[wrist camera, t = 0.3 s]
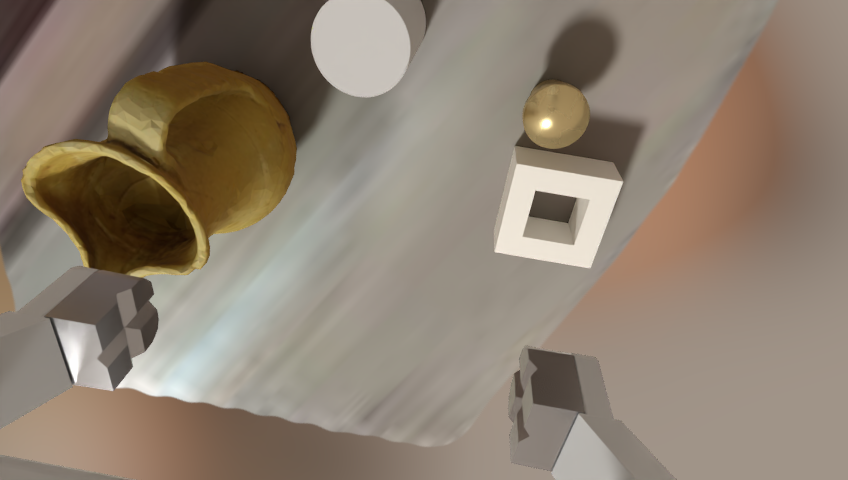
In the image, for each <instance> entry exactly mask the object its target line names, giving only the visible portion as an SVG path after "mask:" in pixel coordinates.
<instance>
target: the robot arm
mask: <svg viewBox="0 0 848 480" xmlns="http://www.w3.org/2000/svg"><path fill="white" fill-rule="evenodd" d="M153 295H154V291H153V287H152V283H151V281H149V280H147V279H145V278H140V277H135V276H130V275H125V274H120V273H115V272H110V271H105V270H98V269H93V268H88V267H83V266H77V267H73V268H70V269H69V270H68V271H67V272H66V273H64V274H63V275H62V276H61V277H59V278H58V279H57V280H56V281H55V282H53V283H52V284H51V285H50V286H48V287H47V288H46V289H45V290H43V291H42V292H41V293H40V294H39V295H37V296H36V297H35V298H34V299H32V300H31V301H30V302H29V303H28V304H26V305H25V306H24V307H23V308H21V309H20V310H19V311H18V312H11V311H8V312H5V313H2V314H0V429H1V428H3V427H5V426H6V425H8V424H10V423H12V422H13V421H15V420H17V419H18V418H20V417H22V416H24V415H25V414H27V413H29V412H30V411H32V410H34V409H35V408H37V407H39V406H41V405H42V404H44V403H46V402H47V401H49V400H51V399H53V398H54V397H56V396H58V395H60V394H61V393H63V392H64V391H66V390H68V389H70V388H72V385H78V386H84V387H91V388H98V389H104V390H111V391H114V390H115V388H116V387H117V386H118V385H119V384H120V382H121V381H122V380H123V379H124V377H125V376H126V375H127V374H128V372H129V371H130V370H131V369H132V367H133V364H132V358H133V357H135V356H137V355H139V354H141V353H144V352H145V351H146V350H147V349H148V347H149V346H150V345H151V343H152V342H153V340H154V337H155V335H156V332H157V330H158V321H159V318H158V312H157V309H156V308H155V307H154V306H153V305H152V304H151V303H150V301H149V300H150V298H151V297H152V296H153ZM519 363H520V370H519V371H517V372H516V373H514V376H513V380H512V383H511V389H510V395H509V418H510V419H511V421H512V422H513V426H512V429H511V432H510V455H511V463H514V464H519V465H524V466H528V467H533V468H538V469H543V470H547V471H552V475H553V477H554V479H555V480H677V479H676V478H675V477H674V476H673V475H672V474H671V473H670V472H669V471H668V470H667V469H666V468H665V467H664V466H663V465H662V464H661V463H660V462H659V461H658V459H657V458H656V457H655V456H654V455H653V454H652V453H651V452H650V451H649V450H648V449H647V448H646V447H645V446H644V445H643V444H642V442H641V441H640V440H639V439H638V438H637V437H636V436H635V435H634V434H633V433H632V432H631V431H630V430H629V429H628V428H627V427H626V426H625V424H624V423H622V421H620V420H614V419H613V415H612V411H611V407H610V403H609V399H608V396H607V392H606V388H605V385H604V380H603V377H602V373H601V369H600V365H599V361H598V360H597V358H596V357H593V356H586V355H580V354H573V353H572V354H570V353H566V352H559V351H554V350H548V349H542V348H536V347H530V346H524V348H523V350H522V352H521V355H520V358H519ZM0 480H135V479H129V478H124V477H118V476H113V475H108V474H102V473H96V472H91V471H85V470H80V469H74V468H70V467H64V466H59V465H53V464H47V463H42V462H37V461H32V460H26V459H21V458H15V457H10V456H4V455H0Z"/></svg>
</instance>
